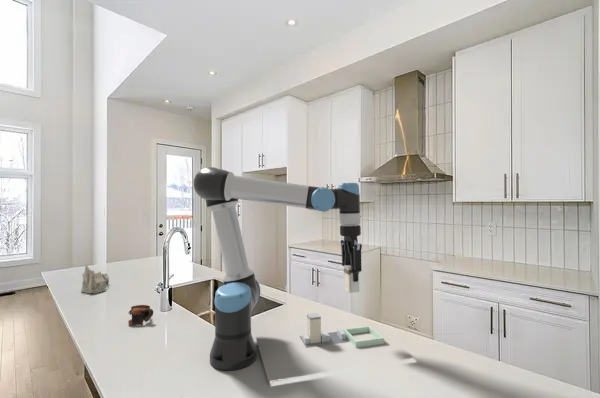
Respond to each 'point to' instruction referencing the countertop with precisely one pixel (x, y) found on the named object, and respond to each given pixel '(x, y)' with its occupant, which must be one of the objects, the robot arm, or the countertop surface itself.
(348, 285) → the block
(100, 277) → the ceramic cottage
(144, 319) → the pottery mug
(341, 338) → the block
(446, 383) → the countertop surface
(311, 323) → the block
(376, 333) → the tray
